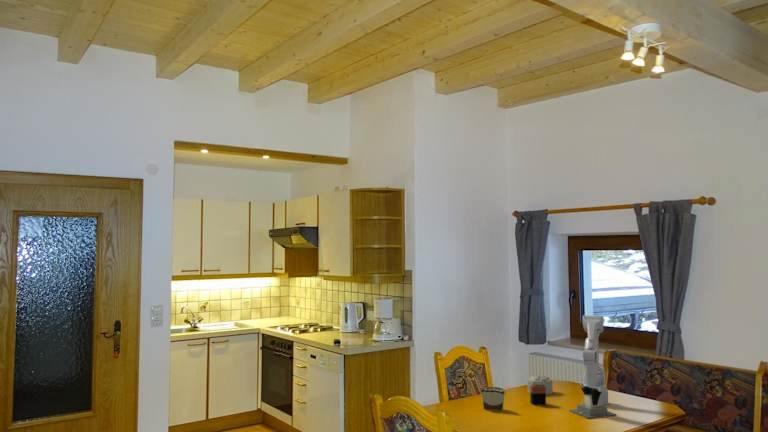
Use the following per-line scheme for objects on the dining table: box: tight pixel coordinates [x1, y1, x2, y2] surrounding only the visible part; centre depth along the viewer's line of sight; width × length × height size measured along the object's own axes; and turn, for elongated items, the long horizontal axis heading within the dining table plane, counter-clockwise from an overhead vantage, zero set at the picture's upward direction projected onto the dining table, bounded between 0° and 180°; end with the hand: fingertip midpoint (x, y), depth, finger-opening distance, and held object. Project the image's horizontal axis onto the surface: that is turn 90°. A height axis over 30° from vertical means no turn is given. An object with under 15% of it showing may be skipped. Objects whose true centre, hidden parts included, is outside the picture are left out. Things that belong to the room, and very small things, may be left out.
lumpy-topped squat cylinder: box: [526, 374, 554, 396], centre depth 318 cm, size 10×13×9 cm
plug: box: [584, 394, 599, 408], centre depth 276 cm, size 5×4×6 cm
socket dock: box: [568, 402, 617, 420], centre depth 276 cm, size 16×14×4 cm
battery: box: [529, 383, 547, 406], centre depth 294 cm, size 4×7×10 cm, turn 93°
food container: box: [480, 386, 506, 412], centre depth 286 cm, size 12×6×10 cm, turn 65°
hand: (592, 403), depth 276 cm, fingers closed on plug, 4 cm apart
